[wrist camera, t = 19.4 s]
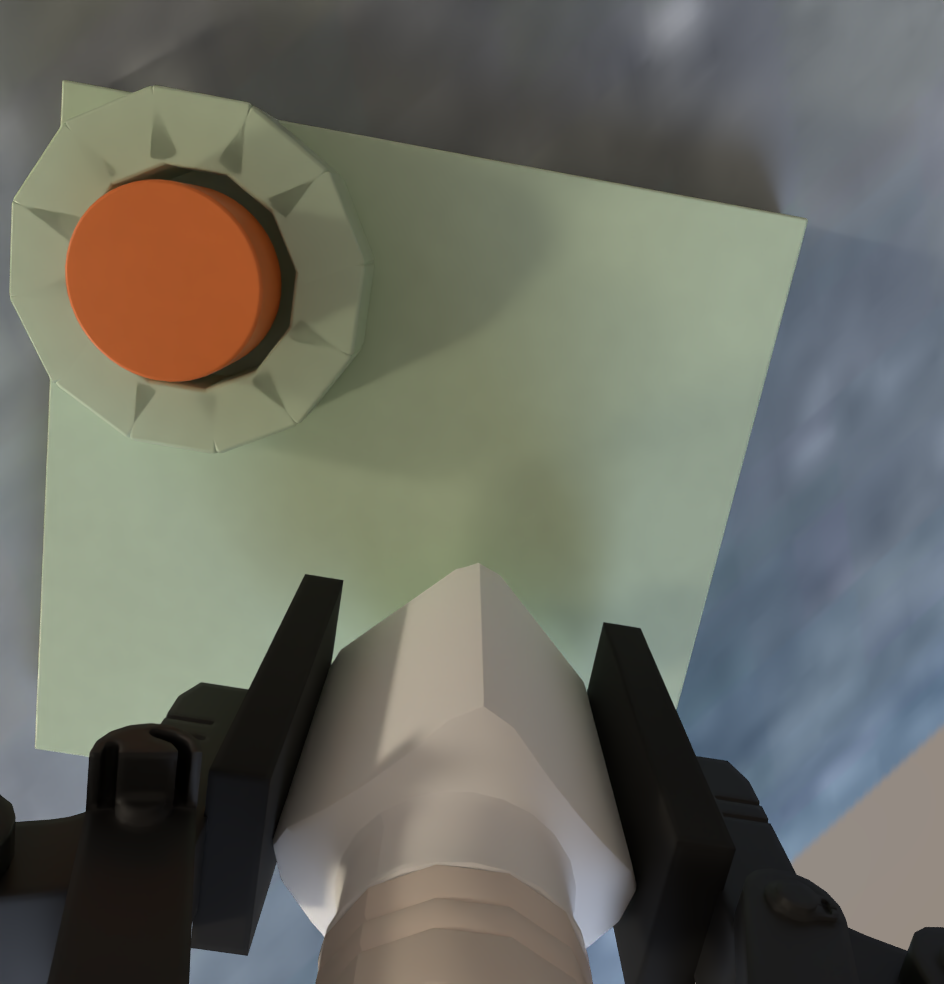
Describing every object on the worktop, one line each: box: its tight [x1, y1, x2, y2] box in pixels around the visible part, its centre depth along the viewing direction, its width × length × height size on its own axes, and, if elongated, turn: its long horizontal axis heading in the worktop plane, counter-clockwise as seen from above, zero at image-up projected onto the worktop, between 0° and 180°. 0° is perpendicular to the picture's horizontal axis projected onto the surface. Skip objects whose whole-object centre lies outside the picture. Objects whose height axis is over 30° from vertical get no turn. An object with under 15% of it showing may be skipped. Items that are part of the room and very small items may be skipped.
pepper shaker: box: [273, 563, 636, 984], centre depth 13 cm, size 4×4×10 cm
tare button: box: [65, 179, 282, 382], centre depth 15 cm, size 3×3×2 cm
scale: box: [9, 80, 808, 757], centre depth 18 cm, size 14×14×3 cm
